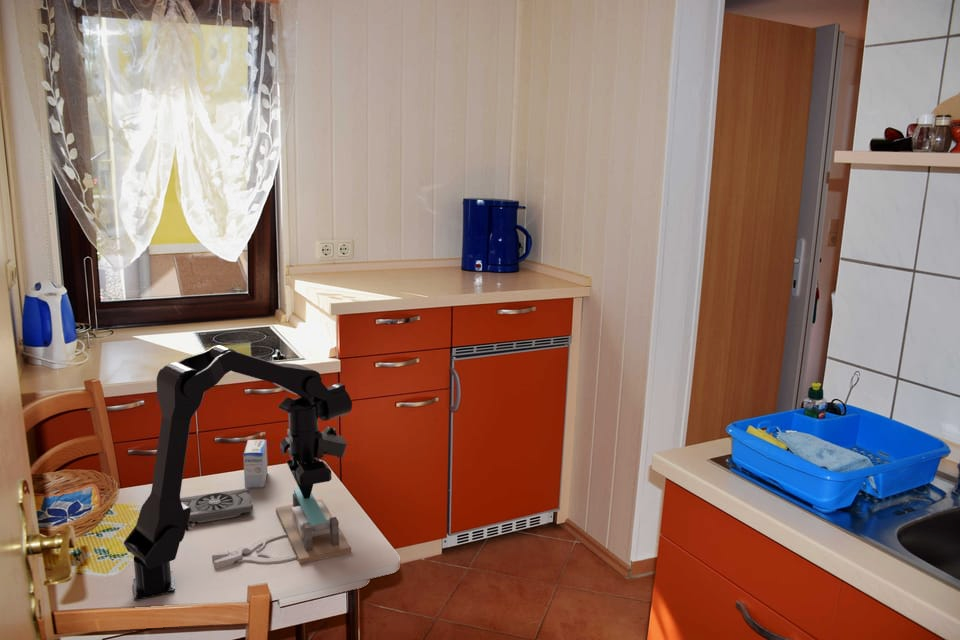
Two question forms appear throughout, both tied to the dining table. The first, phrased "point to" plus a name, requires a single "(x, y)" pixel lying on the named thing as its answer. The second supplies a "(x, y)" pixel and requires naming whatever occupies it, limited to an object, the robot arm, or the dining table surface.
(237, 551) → the pliers
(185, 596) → the dining table surface
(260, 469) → the medicine box
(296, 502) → the block
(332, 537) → the board
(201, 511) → the graphics card
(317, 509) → the lever
